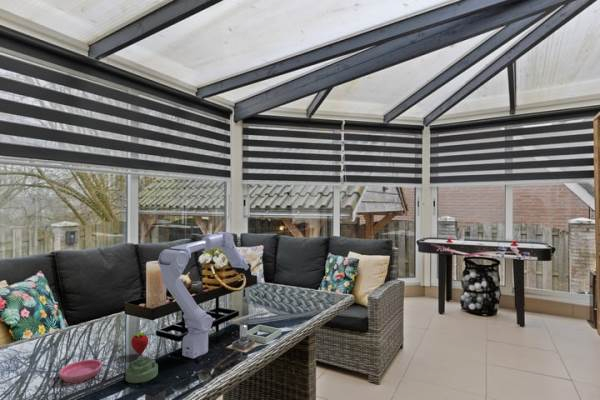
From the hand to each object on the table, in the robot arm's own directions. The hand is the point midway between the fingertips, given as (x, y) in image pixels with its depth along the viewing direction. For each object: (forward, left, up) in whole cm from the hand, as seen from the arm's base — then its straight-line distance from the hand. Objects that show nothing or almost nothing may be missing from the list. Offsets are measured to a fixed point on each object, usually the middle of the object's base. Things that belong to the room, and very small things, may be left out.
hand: (245, 275), depth 155 cm
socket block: (-14, -10, -26) cm, 31 cm away
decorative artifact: (-49, +6, -26) cm, 56 cm away
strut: (-14, -10, -25) cm, 30 cm away
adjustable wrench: (+18, +12, -27) cm, 34 cm away
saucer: (-59, +24, -26) cm, 69 cm away
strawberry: (-39, +21, -26) cm, 51 cm away
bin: (-2, -11, -26) cm, 28 cm away
